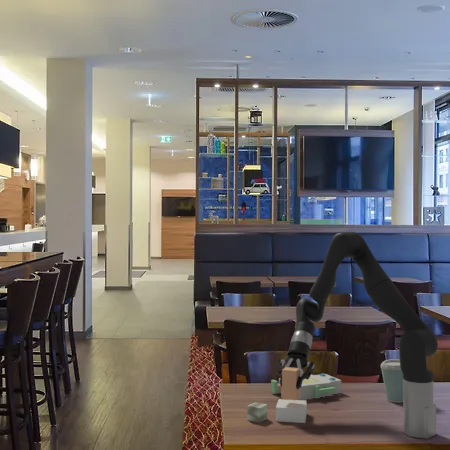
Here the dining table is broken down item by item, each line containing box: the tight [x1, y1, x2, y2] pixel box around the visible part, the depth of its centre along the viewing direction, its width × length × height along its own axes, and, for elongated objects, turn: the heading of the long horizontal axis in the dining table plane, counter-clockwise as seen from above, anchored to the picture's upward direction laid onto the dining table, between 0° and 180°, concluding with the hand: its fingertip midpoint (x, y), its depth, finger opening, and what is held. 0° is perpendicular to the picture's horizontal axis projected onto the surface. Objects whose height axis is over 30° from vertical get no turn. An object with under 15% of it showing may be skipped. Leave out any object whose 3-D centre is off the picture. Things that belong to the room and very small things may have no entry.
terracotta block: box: [281, 367, 301, 400], centre depth 202 cm, size 5×5×10 cm
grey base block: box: [275, 398, 308, 424], centre depth 201 cm, size 10×10×5 cm
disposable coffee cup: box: [380, 358, 403, 404], centre depth 221 cm, size 11×11×15 cm
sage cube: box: [246, 401, 268, 423], centre depth 199 cm, size 5×5×5 cm
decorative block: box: [270, 373, 342, 401], centre depth 231 cm, size 26×6×20 cm
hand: (289, 386), depth 200 cm, fingers closed on terracotta block, 5 cm apart
